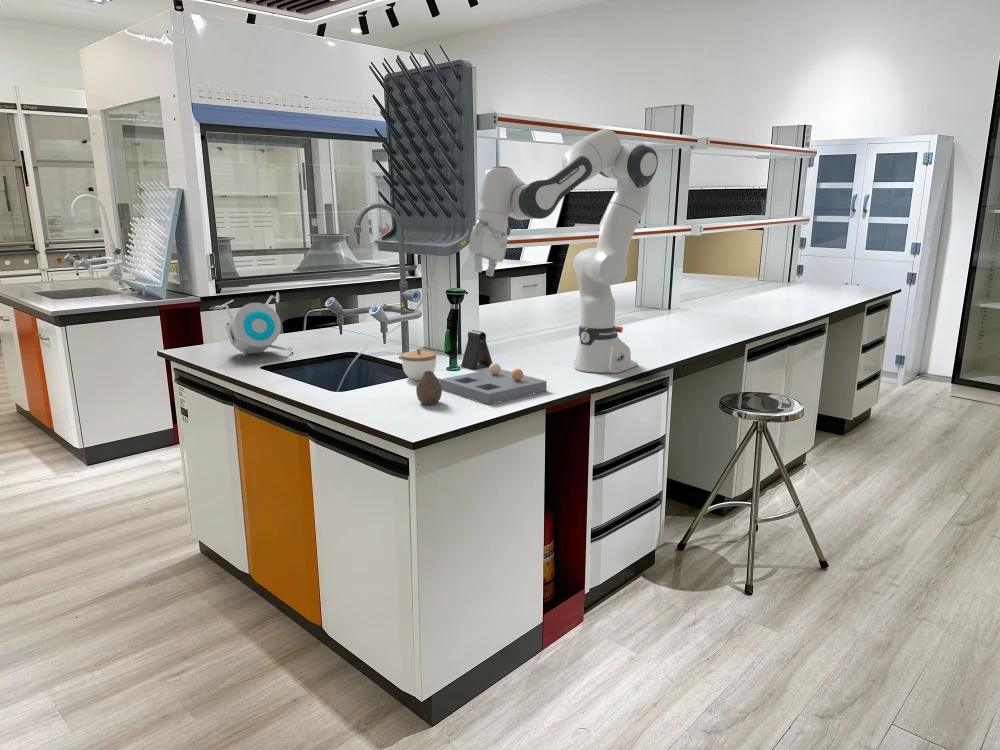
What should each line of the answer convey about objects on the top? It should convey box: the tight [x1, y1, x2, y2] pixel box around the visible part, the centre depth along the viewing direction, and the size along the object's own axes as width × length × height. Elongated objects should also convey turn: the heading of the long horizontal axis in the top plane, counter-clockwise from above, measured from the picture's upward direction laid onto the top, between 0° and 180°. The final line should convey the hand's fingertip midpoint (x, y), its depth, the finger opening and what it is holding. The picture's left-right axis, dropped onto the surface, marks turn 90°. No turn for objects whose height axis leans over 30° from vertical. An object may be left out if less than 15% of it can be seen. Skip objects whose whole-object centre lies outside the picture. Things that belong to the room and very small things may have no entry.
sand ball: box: [488, 362, 501, 375], centre depth 208 cm, size 4×4×4 cm
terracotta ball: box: [511, 368, 524, 381], centre depth 201 cm, size 4×4×4 cm
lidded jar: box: [400, 348, 437, 381], centre depth 215 cm, size 11×11×9 cm
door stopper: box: [460, 329, 494, 371], centre depth 231 cm, size 9×6×12 cm, turn 131°
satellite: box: [209, 291, 294, 359], centre depth 249 cm, size 23×20×25 cm
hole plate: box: [439, 368, 548, 405], centre depth 202 cm, size 22×22×3 cm
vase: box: [415, 371, 443, 406], centre depth 188 cm, size 7×7×9 cm
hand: (483, 273), depth 195 cm, fingers open, 8 cm apart
